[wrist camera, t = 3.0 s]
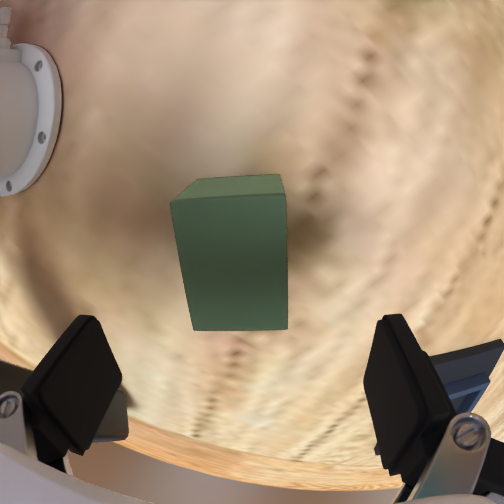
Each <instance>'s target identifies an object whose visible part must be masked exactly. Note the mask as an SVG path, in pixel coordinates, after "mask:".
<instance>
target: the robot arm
mask: <svg viewBox="0 0 504 504" xmlns="http://www.w3.org/2000/svg"><path fill="white" fill-rule="evenodd" d="M11 11H12V9H11V7H7V6H5V7H0V196H11V195H14V194H16V193H19V192H21V191H23V190H25V189H27V188H28V187H30V186H31V185H32V184H33V183H34V182H35V181H36V180H37V179H38V177H39V176H40V175H41V173H42V172H43V171H44V169H45V167H46V165H47V163H48V161H49V159H50V157H51V154H52V151H53V148H54V146H55V143H56V138H57V134H58V130H59V125H60V117H61V102H62V93H61V84H60V78H59V74H58V70H57V67H56V65H55V63H54V61H53V59H52V57H51V56H50V55H49V54H48V53H47V51H46V50H45V49H43V48H41V47H39V46H37V45H33V44H28V43H18V44H15V45H12V46H10V44H11V41H10V39H8V38H7V31H8V28H9V24H10V17H11ZM121 381H122V373H121V371H120V369H119V367H118V364H117V362H116V360H115V358H114V355H113V353H112V351H111V348H110V346H109V344H108V341H107V339H106V336H105V334H104V332H103V329H102V326H101V324H100V322H99V321H98V320H97V319H96V318H95V317H94V316H91V315H79V316H77V317H76V319H75V320H74V321H73V322H72V323H71V325H70V326H69V327H68V328H67V329H66V331H65V332H64V333H63V334H62V335H61V337H60V338H59V339H58V340H57V341H56V343H55V344H54V345H53V346H52V348H51V349H50V350H49V351H48V353H47V354H46V355H45V357H44V358H43V359H42V360H41V362H40V363H39V364H38V366H37V367H36V368H35V370H34V371H33V372H32V374H31V375H30V376H29V378H28V379H27V380H26V382H25V383H24V384H23V386H22V387H21V388H20V390H21V391H22V393H23V394H24V397H23V398H22V397H21V396H20V394H19V393H17V392H15V391H8V392H5V393H3V394H1V395H0V504H156V503H152V502H148V501H144V500H140V499H136V498H133V497H129V496H126V495H123V494H119V493H116V492H113V491H110V490H107V489H104V488H101V487H98V486H96V485H93V484H90V483H88V482H85V481H82V480H80V479H77V478H75V477H74V476H73V473H72V470H71V466H70V463H69V460H68V456H67V451H68V449H69V450H70V451H71V452H73V453H76V454H79V455H81V456H83V454H84V452H85V450H87V449H89V447H90V445H91V443H92V441H93V439H94V437H95V435H96V432H97V430H98V428H99V426H100V424H101V422H102V420H103V418H104V416H105V414H106V412H107V410H108V407H109V405H110V403H111V401H112V399H113V397H114V395H115V393H116V391H117V389H118V387H119V385H120V383H121ZM363 384H364V390H365V394H366V397H367V401H368V405H369V409H370V413H371V417H372V421H373V425H374V429H375V434H376V438H377V442H378V447H379V451H380V456H381V461H382V465H383V468H384V469H388V470H389V475H390V476H393V475H397V474H401V478H402V482H404V483H403V485H402V486H401V488H400V490H399V491H398V493H397V495H396V496H395V498H394V499H393V501H392V502H391V504H504V443H503V442H500V441H498V440H495V439H493V438H491V431H490V427H489V425H488V423H487V421H486V420H485V419H484V418H483V417H481V416H479V415H477V414H475V413H470V412H467V413H461V414H459V415H457V413H456V411H455V409H454V406H453V404H452V402H451V400H450V398H449V396H448V394H447V392H446V389H445V387H444V385H443V383H442V381H441V379H440V377H439V375H438V373H437V371H436V369H435V367H434V366H433V364H432V362H431V360H430V358H429V356H428V354H427V353H426V352H425V351H422V350H421V348H420V346H419V344H418V342H417V340H416V338H415V337H414V335H413V333H412V331H411V329H410V328H409V326H408V324H407V322H406V320H405V319H404V317H403V315H402V314H391V315H384V316H383V318H382V320H378V322H377V325H376V329H375V334H374V339H373V343H372V347H371V351H370V356H369V360H368V363H367V367H366V371H365V375H364V380H363Z"/></svg>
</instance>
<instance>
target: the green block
mask: <svg viewBox="0 0 504 504" xmlns="http://www.w3.org/2000/svg"><path fill="white" fill-rule="evenodd" d="M170 206H171V213H172V219H173V226H174V232H175V238H176V244H177V250H178V256H179V261H180V267H181V272H182V277H183V283H184V288H185V293H186V298H187V302H188V307H189V312H190V317H191V321H192V326H193V330H194V331H258V330H287V329H288V257H287V211H286V194H285V191H284V187H283V183H282V180H281V176H280V174H270V175H250V176H234V177H219V178H207V179H198V180H196V181H195V182H194V183H193V184H191V185H190V186H189V187H188V188H187V189H186V190H184V191H183V192H182V193H181V194H180V195H179V196H177V197H176V198H175V199H174V200H173V201H171V202H170Z"/></svg>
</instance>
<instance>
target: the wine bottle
mask: <svg viewBox="0 0 504 504" xmlns="http://www.w3.org/2000/svg"><path fill="white" fill-rule="evenodd" d="M33 371H34V370H31V369H27V368H24V367H21V366H18V365H15V364H12V363H9V362H6V361H3V360H0V395H1V394H3V393H5V392H8V391H15V392H17V393H19V394H20V396H21V397H22V398H23V397H24V394H23V393H22V391H21V390H20V388H21V387H22V386H23V384H24V383H25V382H26V380H27V379H28V378H29V376H30V375H31V374H32V372H33ZM128 433H129V427H128V415H127V400H126V397H125V395H124V393H123V392H122V391H119V390H117V391H116V393H115V395H114V397H113V399H112V401H111V403H110V405H109V407H108V410H107V412H106V414H105V416H104V418H103V420H102V422H101V424H100V426H99V428H98V430H97V432H96V435H95V437H94V439H93V441H92V442H108V441H120V440H125V439H126V438H127V437H128Z"/></svg>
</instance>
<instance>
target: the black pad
mask: <svg viewBox="0 0 504 504" xmlns="http://www.w3.org/2000/svg"><path fill="white" fill-rule="evenodd" d="M503 350H504V343H503V341H502V340H501V339H500V340H496V341H493V342H489V343H486V344H482V345H479V346H475V347H471V348H467V349H463V350H459V351H455V352H451V353H446V354H442V355H437V356H432V357H429V358H430V360H431V362H432V364H433V366H434V367H435V369H436V371H437V373H438V375H439V377H440V379H441V381H442V383H443V385H444V387H445V389H446V392H447V394H448V396H449V398H450V400H451V402H452V404H453V406H454V409H455V411H456V413H457V415H459V414H461V413H467V412H470V413H471V411H472V410H473V408H474V407H475V405H476V404H477V402H478V401H479V399H480V398H481V396H482V395H483V393H484V392H485V390H486V388H487V387H488V385H489V383H490V380H489V376H490V374H491V372H492V371H493V369H494V367H495V365H496V363H497V362H498V360H499V358H500V356H501V354H502V352H503ZM374 450H375V455H380V451H379V447H378V443H377V445H376V447H375V448H374Z"/></svg>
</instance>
